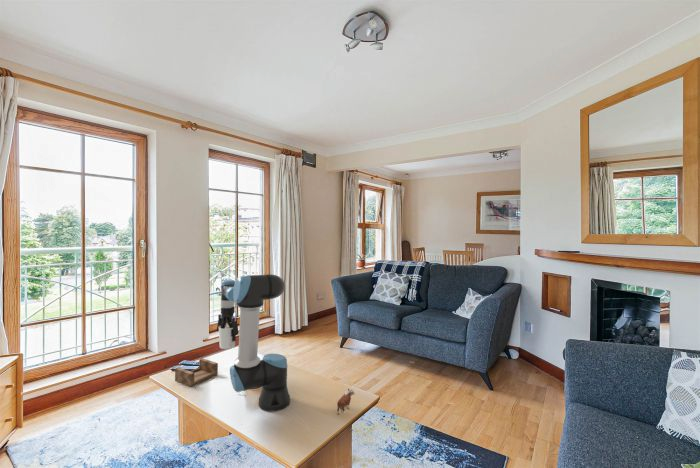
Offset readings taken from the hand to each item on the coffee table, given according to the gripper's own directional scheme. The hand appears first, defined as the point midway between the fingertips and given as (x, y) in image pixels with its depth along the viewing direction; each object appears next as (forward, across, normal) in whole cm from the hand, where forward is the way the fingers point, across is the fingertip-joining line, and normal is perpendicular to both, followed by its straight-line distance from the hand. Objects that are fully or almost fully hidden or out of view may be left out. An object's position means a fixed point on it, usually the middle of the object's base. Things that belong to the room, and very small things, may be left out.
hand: (227, 344), depth 187 cm
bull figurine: (+18, -78, -6) cm, 80 cm away
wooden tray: (+18, +11, +12) cm, 24 cm away
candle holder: (+1, 0, 0) cm, 1 cm away
